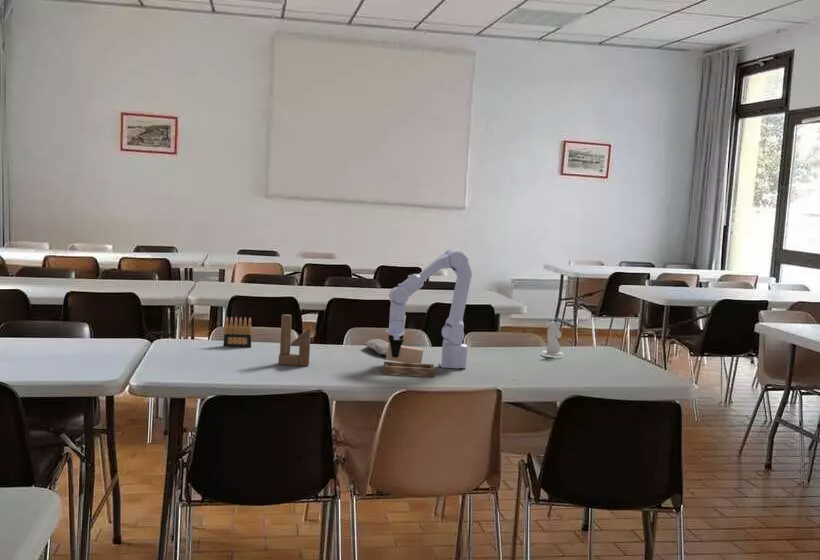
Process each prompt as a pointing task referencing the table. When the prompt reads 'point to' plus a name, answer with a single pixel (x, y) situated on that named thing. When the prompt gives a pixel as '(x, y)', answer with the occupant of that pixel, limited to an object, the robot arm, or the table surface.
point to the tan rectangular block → (406, 354)
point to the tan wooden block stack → (293, 344)
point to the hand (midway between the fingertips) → (394, 355)
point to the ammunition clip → (237, 333)
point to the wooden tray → (409, 369)
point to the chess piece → (553, 340)
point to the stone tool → (378, 346)
